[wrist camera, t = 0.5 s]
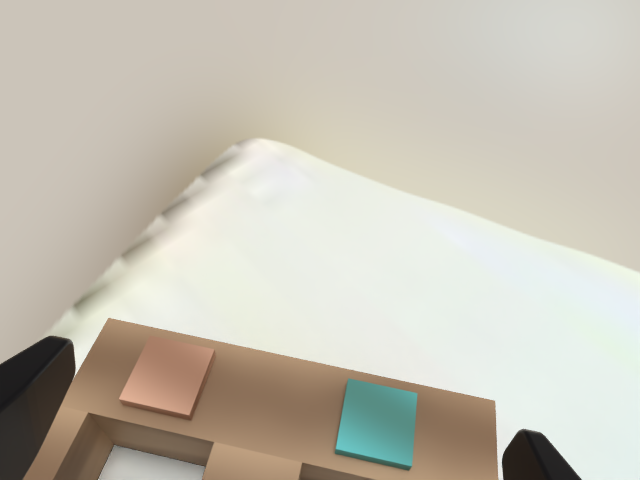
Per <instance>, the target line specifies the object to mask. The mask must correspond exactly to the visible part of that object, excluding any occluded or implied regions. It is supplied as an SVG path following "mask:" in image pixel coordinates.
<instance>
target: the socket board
mask: <svg viewBox="0 0 640 480" xmlns="http://www.w3.org/2000/svg"><path fill="white" fill-rule="evenodd" d="M113 445H118V446H122V447H126V448H131V449H135V450H139V451H143V452H147V453H152V454H156V455H160V456H164V457H168V458H173V459H177V460H181V461H185V462H189V463H194V464H198V465H202V466H206V468H205V471H204V474H203V477H202V480H498V465H497V438H496V410H495V401H493V400H488V399H484V398H479V397H475V396H470V395H465V394H461V393H456V392H451V391H447V390H442V389H437V388H433V387H428V386H423V385H419V384H414V383H409V382H405V381H400V380H395V379H391V378H386V377H381V376H377V375H372V374H367V373H363V372H358V371H353V370H349V369H344V368H339V367H335V366H330V365H325V364H321V363H316V362H311V361H307V360H302V359H298V358H293V357H288V356H284V355H279V354H274V353H270V352H265V351H260V350H256V349H251V348H246V347H242V346H237V345H232V344H228V343H223V342H218V341H214V340H209V339H204V338H200V337H195V336H190V335H186V334H181V333H176V332H172V331H167V330H162V329H158V328H153V327H148V326H144V325H139V324H135V323H130V322H125V321H121V320H116V319H111V318H108V320H107V322H106V323H105V325H104V327H103V329H102V330H101V332H100V334H99V336H98V337H97V339H96V341H95V343H94V344H93V346H92V348H91V350H90V351H89V353H88V355H87V357H86V358H85V360H84V362H83V364H82V365H81V367H80V369H79V371H78V372H77V374H76V376H75V378H74V379H73V381H72V383H71V385H70V387H69V389H68V391H67V393H66V396H65V398H64V400H63V402H62V404H61V406H60V408H59V410H58V413H57V415H56V417H55V419H54V421H53V423H52V425H51V428H50V430H49V432H48V434H47V436H46V438H45V440H44V442H43V444H42V446H41V448H40V450H39V452H38V454H37V456H36V458H35V460H34V461H33V463H32V465H31V467H30V468H29V470H28V472H27V473H26V475H25V477H24V478H23V480H97V479H98V477H99V475H100V473H101V471H102V469H103V467H104V464H105V462H106V460H107V458H108V456H109V454H110V452H111V449H112V447H113Z"/></svg>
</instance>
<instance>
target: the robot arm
mask: <svg viewBox="0 0 640 480" xmlns="http://www.w3.org/2000/svg"><path fill="white" fill-rule="evenodd" d="M74 375H75V357H74V346H73V342H72V341H71V340H70V339H67V338H62V337H57V336H48V337H46V338H44V339H42V340H40V341H39V342H37V343H35V344H34V345H32V346H30V347H29V348H27V349H25V350H24V351H22V352H20V353H18V354H17V355H15V356H13V357H12V358H10V359H8V360H7V361H5V362H3V363H1V364H0V480H23V478H24V477H25V475H26V473H27V472H28V470H29V468H30V467H31V465H32V463H33V461H34V460H35V458H36V456H37V454H38V452H39V450H40V448H41V446H42V444H43V442H44V440H45V438H46V436H47V434H48V432H49V430H50V428H51V425H52V423H53V421H54V419H55V417H56V415H57V413H58V410H59V408H60V406H61V404H62V402H63V400H64V398H65V396H66V393H67V391H68V389H69V387H70V385H71V383H72V381H73V378H74ZM502 469H503V480H582V479H581V478H580V477H579V476H578V475H577V473H576V472H575V471H574V470H573V469H572V467H571V466H570V465H569V464H568V463H567V462H566V460H565V459H564V458H563V457H562V456H561V454H560V453H559V452H558V451H557V450H556V448H555V447H554V446H553V445H552V444H551V443H550V441H549V440H548V439H547V438H546V437H545V436H544V435H543V434H542V433H540V432H537V431H532V430H527V429H521V430H519V431H518V432H517V434H516V435H515V436H514V438H513V439H512V441H511V442H510V444H509V445H508V447H507V448H506V450H505V451H504V454H503V458H502Z"/></svg>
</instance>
